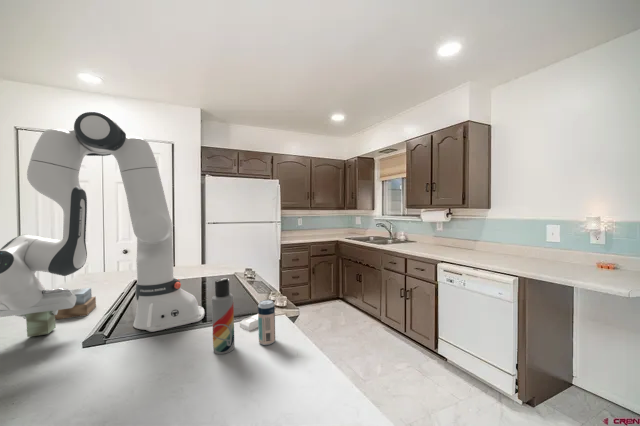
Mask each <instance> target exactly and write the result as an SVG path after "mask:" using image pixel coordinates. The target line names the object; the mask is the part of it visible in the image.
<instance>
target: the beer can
mask: <svg viewBox="0 0 640 426" xmlns="http://www.w3.org/2000/svg"><path fill="white" fill-rule="evenodd" d="M275 309H276V308H275V303H274V301H273V300H272V299H263V300H260V301H259V303H258V305H257V314H258V327H257V328H258V343H259V344H260V345H262V346H269V345H272V344H273V343H274V342H276V315H275V314H276V313H275V312H276V310H275Z"/></svg>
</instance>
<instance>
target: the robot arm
mask: <svg viewBox="0 0 640 426" xmlns="http://www.w3.org/2000/svg"><path fill="white" fill-rule="evenodd" d="M111 155H112V157H113V156H114V158H115V160H116V161H117V166H118V168H119V173H120V176H121V179H122V184H123V187H124V191H125V196H126V200H127V206H128V212H129V217H130V221H131V226H132V230H133V233H134V236H135V237H136V284H135V298H136V301H137V302H136V311H135V317H134V322H133V323H132V325H133V327H134V328H135V329H139V330H143V331H144V330H146V331H147V332H150V333H151V332H157V331H163V330H165V329H166V330H168V329H171V328H175V327H180V326H184V325H185V326H186V325H188V324H191V323H197V322H200V321H201V320H202V319H204V317H205V315H206V312H205V309H204V307H203V306H200V305H199V304H198V300H197V298H196V297H195V295H193V294H192V293H191V292H188V291H186V290H184V289H182V287H181V286H182V284H181V280H180V279H179V278H178V279H177V278H175V277H174V276H175V275H174V249H173V247H174V246H173V222H172V219H171V216H170V212H169V207H168V203H167V199H166V195H165V192H164V191H165V190H164V187H163V183H162V178H161V175H160V171H159V168H158V163H157V161H156V157H155V154H154V151H153V150H152V148H151V145H150V144H149V141H147V140H146V139H144V138H142V137H139V136H127V135H126V132H125V131H124V130H123V129H122V128H121V127H120V126H119V125H118V124H117V122H115V120H114V119H112V118H111V117H110V116H108V115H107V114H104V113H103V112H99V111H87V112H83V113H81V114H80V115H78V116H77V118H75V120H74V123H73V130H67V129H62V128H49V129H46V130H44V131H43V132H42V133H41V135H40V136H39V138H38V140H37V141H36V143H35V146H34V149H33V150H32V153H31V156H30V160H29V163H28V165H27V166H28V167H27V172H26V178H27V179H26V180H27V181H28V183H29V185H30V186H31V187H32V188H33V189H34V190H35V191H37V192H38V193H39V194H42V195H43V196H45V197H47V198H48V199H51V200H52V201H53V202H55V203H57V204H58V206H60V208H61V209H62V211H63V227H62V228H63V230H62V231H63V232H62V239H57V238H50V237H45V236H41V235H40V236H39V235H33V234H21V235H18V236H16V237H14V238H12V239H11V240H10V241H8V242H6V243H5V244H4V245H3V246H2V247H1V248H0V318H6V317H7V318H8V317H11V316H12V317H13V316H15V317H20V318H23V319H24V320H26V314H30V313H37V312H45V311H50V312H49V314H50V315H57V313H58V310H61V309H68V308H72V307H73V306H74V305H75V303H76V296H75V295H74V294H73V293H72V292H71V291H70V290H71V289H69V288H65V287H63V288H62V287H60V288H59V287H58V288H49V289H46V288H45V287H44V285H43V284H42V282H41V281H40V280H39V279H38V277H36V275H35V273H37V272H43V273H50V274H52V275H57V276H62V277H65V276H67V277H68V276H70V275H72V274H74V273H77V272H78V271H80V270H81V269H82V268H83V267H84V265H85V264H86V261H87V257H88V251H87V243H86V239H87V238H86V235H87V218H88V217H87V214H88V213H87V211H88V197H87V193H86V191H85V190H84V189H83V188H82V187H81V184H80V181H79V180H80V178H79V175H80V170H81V165H82V163H83V160H84V158H85V156H86V157H87V156H88V157H91V156H92V157H93V156H94V157H95V156H98V157H105V156H111Z"/></svg>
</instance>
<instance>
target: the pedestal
mask: <svg viewBox="0 0 640 426" xmlns="http://www.w3.org/2000/svg"><path fill="white" fill-rule="evenodd" d="M69 290H70V291H71V292H72V293H73V294H74V295H75V296H76V303H75V305H74V306H73V307H72V308H68V309H61V310H58V313H57V315H55V321H56V320H61V319H62V320H63V319H69V318H76V317H77V318H78V317H84V316H88V315H89V314H90V313H91V312H92V311H93V310H94V309H95V308H96V307H97V298H96V296H93V295H92V287H87V288H86V287H85V288H76V289H69Z"/></svg>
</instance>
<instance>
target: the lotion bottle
mask: <svg viewBox="0 0 640 426" xmlns="http://www.w3.org/2000/svg"><path fill="white" fill-rule="evenodd" d="M230 290H231V289H230V279H229V278H222V279H219V280H214V295H213V296H212V297H211V317H212V321H211V322H212V347H213V348H212V349H213V353H215V354H217V355H223V354H225V355H226V354H228V353H230V352H232V351H233V350H234V349H235V317H234V316H235V313H234V309H235V308H234V295H233V294H232V293H231V291H230Z"/></svg>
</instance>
